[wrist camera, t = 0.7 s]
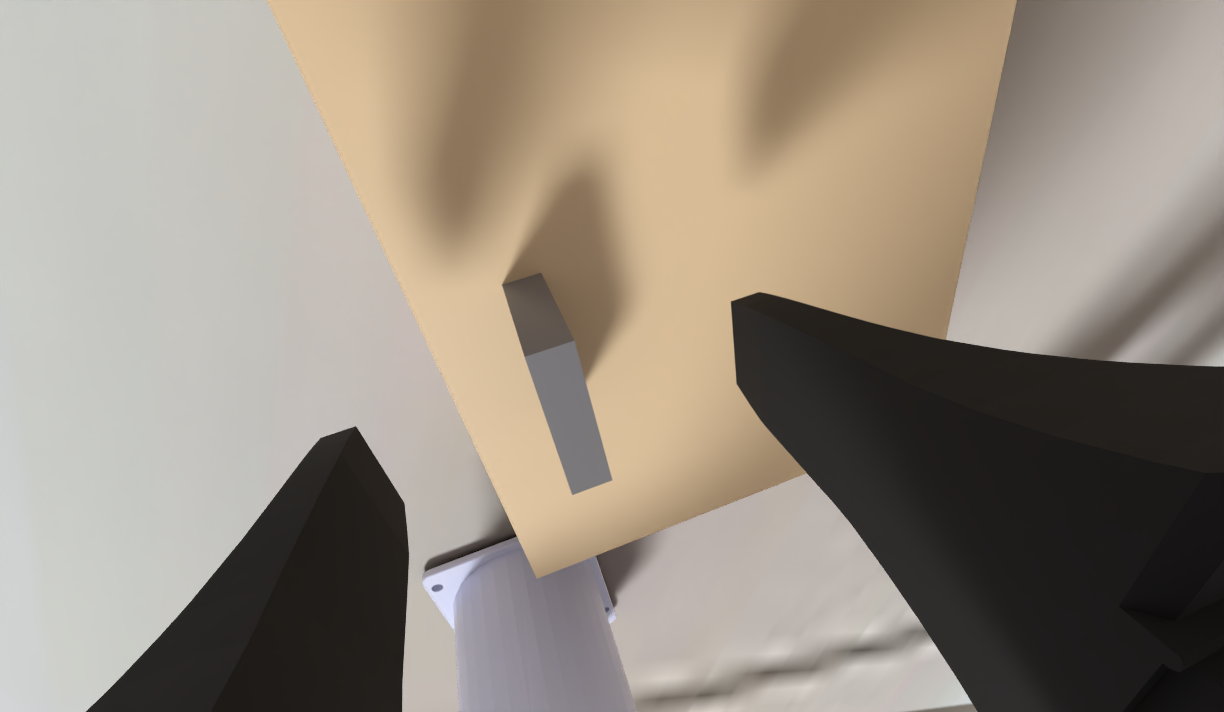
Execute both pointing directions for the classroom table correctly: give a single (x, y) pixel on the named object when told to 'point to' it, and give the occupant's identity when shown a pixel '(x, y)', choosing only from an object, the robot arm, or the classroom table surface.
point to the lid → (647, 215)
